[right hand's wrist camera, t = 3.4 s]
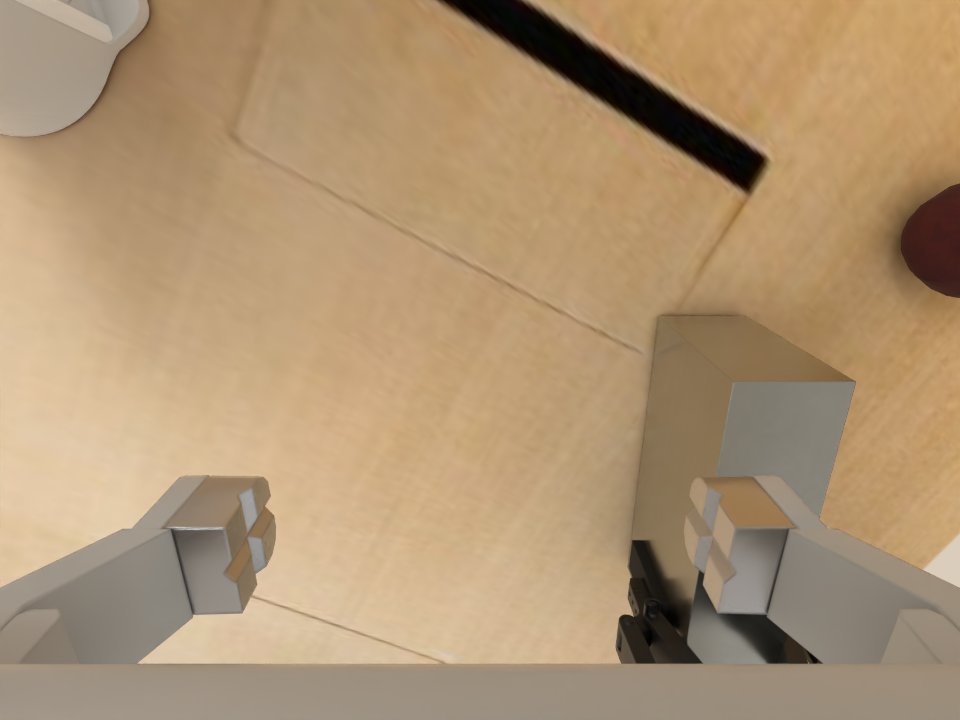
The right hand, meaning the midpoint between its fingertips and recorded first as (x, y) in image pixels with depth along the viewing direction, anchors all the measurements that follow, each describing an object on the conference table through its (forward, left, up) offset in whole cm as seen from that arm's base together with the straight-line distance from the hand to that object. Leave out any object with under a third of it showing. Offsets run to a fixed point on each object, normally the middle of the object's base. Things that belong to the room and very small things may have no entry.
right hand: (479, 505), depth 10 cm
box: (+16, +16, -28) cm, 36 cm away
